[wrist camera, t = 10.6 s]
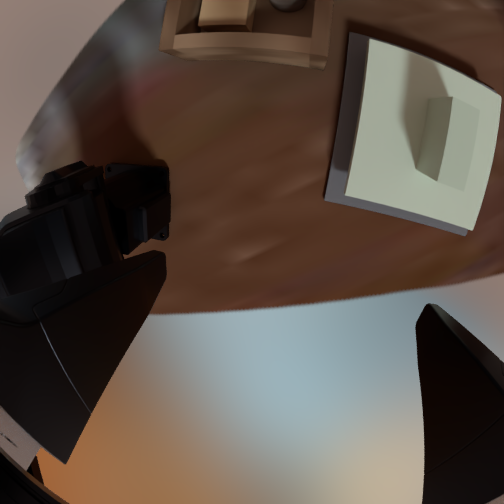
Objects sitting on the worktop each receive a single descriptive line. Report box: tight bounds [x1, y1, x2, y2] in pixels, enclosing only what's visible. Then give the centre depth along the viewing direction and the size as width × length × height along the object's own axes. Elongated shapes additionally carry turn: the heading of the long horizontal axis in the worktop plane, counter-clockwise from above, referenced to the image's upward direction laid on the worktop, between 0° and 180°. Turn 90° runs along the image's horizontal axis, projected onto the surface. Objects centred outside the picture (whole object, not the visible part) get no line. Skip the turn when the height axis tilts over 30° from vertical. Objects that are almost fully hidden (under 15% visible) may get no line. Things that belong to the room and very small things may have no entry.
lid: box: [344, 39, 501, 231], centre depth 13 cm, size 11×11×6 cm
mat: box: [324, 32, 497, 236], centre depth 16 cm, size 13×13×1 cm
